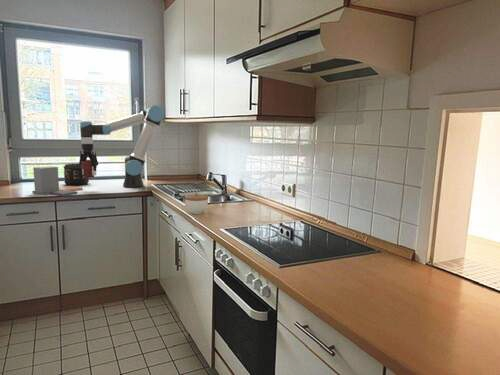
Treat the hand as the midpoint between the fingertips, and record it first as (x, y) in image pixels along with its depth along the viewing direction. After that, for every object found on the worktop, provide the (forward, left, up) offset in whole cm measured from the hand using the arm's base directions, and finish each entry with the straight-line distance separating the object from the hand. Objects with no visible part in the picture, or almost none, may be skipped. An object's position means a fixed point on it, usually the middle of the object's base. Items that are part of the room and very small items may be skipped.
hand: (89, 174), depth 262 cm
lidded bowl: (-105, +13, -11) cm, 107 cm away
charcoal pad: (0, +19, -11) cm, 22 cm away
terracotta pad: (+13, +8, -11) cm, 19 cm away
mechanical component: (0, 0, -2) cm, 2 cm away
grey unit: (+13, +23, -11) cm, 29 cm away
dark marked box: (+32, -13, -11) cm, 37 cm away
